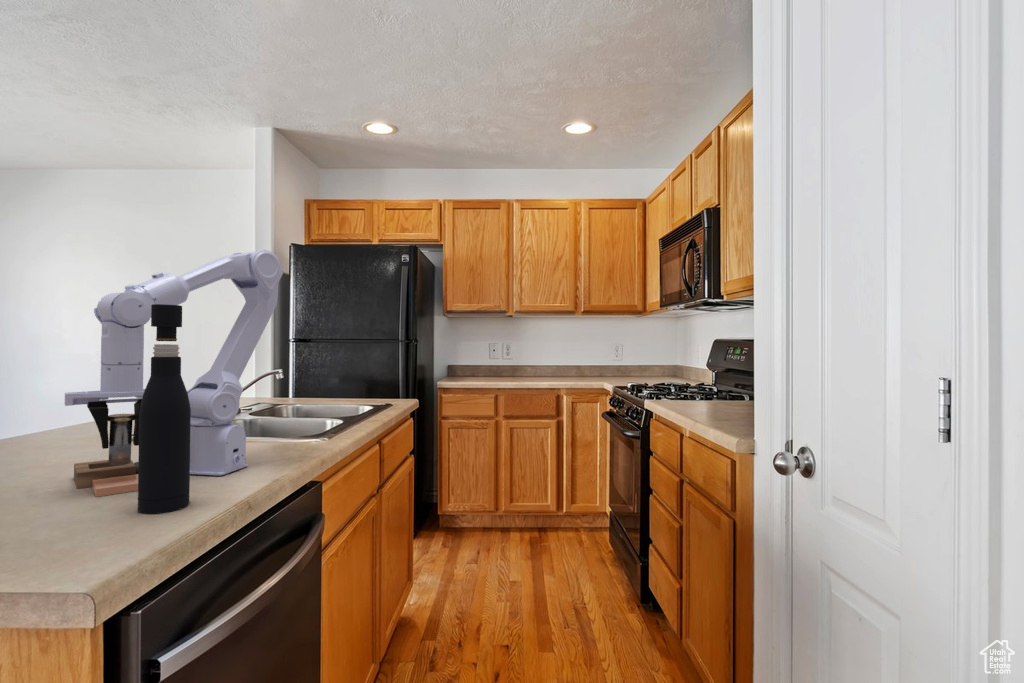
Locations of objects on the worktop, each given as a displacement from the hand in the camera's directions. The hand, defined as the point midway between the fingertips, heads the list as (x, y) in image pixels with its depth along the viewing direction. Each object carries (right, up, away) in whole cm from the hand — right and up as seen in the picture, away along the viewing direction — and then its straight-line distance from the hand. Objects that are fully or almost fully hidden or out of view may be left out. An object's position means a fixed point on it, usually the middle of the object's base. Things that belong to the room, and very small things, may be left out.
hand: (121, 446), depth 88 cm
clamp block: (-6, -7, +6) cm, 11 cm away
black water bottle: (+13, -7, -9) cm, 18 cm away
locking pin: (-1, -3, 0) cm, 3 cm away
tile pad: (0, -7, 0) cm, 7 cm away
